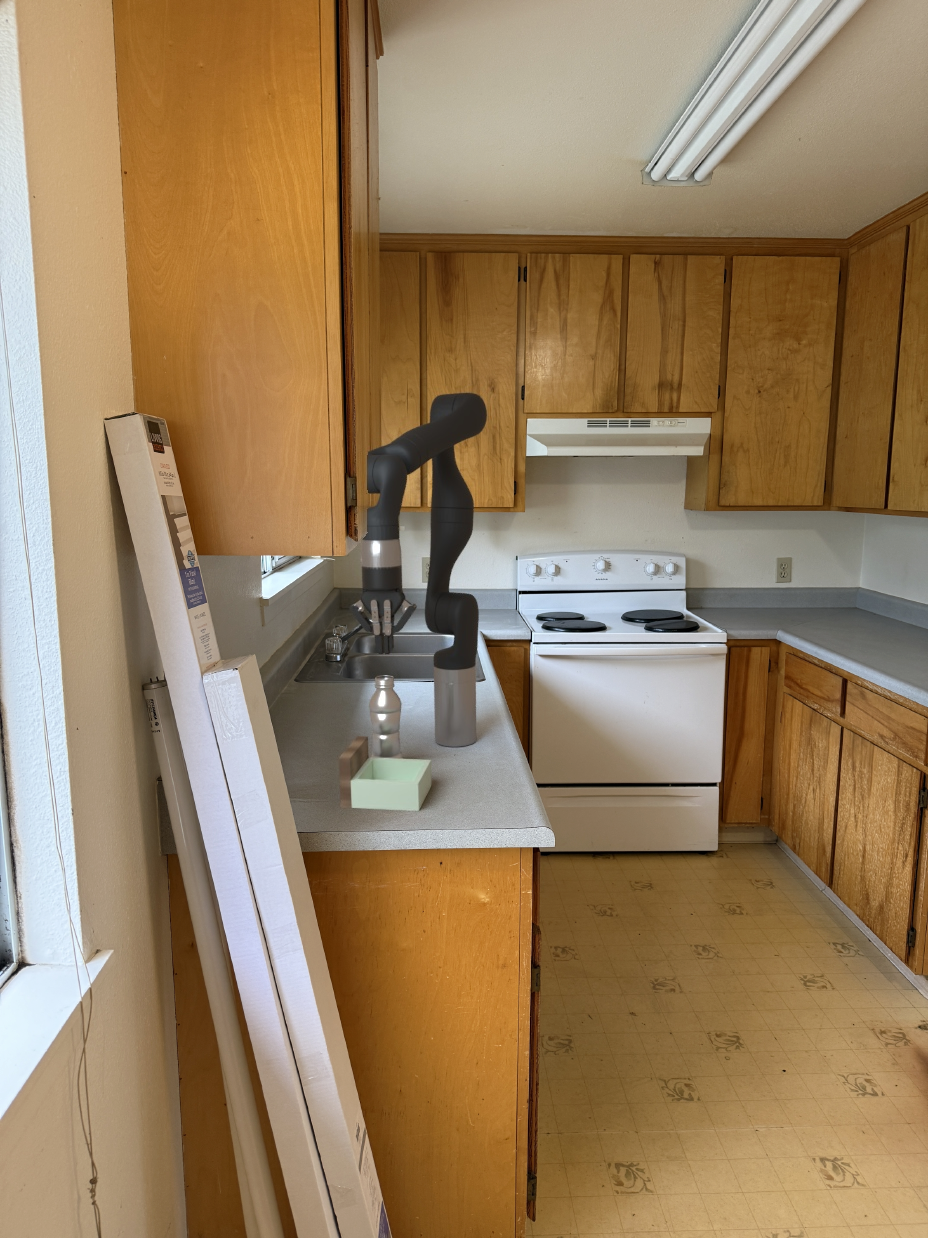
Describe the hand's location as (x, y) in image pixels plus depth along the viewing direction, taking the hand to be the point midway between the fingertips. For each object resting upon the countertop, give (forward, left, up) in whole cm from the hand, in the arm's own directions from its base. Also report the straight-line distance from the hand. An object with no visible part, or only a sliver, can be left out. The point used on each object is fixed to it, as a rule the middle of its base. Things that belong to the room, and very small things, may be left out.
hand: (384, 653), depth 156 cm
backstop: (+12, +8, -25) cm, 29 cm away
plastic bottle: (0, 0, -25) cm, 25 cm away
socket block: (+12, +4, -24) cm, 27 cm away
